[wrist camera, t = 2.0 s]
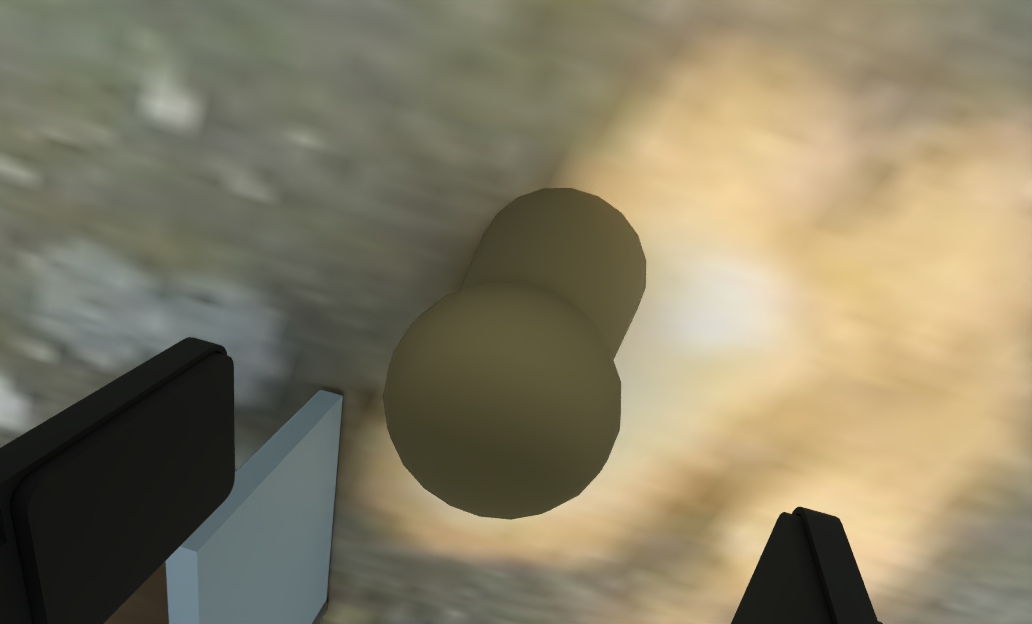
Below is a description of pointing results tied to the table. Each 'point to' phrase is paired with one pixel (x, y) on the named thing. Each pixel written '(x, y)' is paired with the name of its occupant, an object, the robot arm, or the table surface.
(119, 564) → the robot arm
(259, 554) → the door
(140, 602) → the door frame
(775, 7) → the table surface
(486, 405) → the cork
